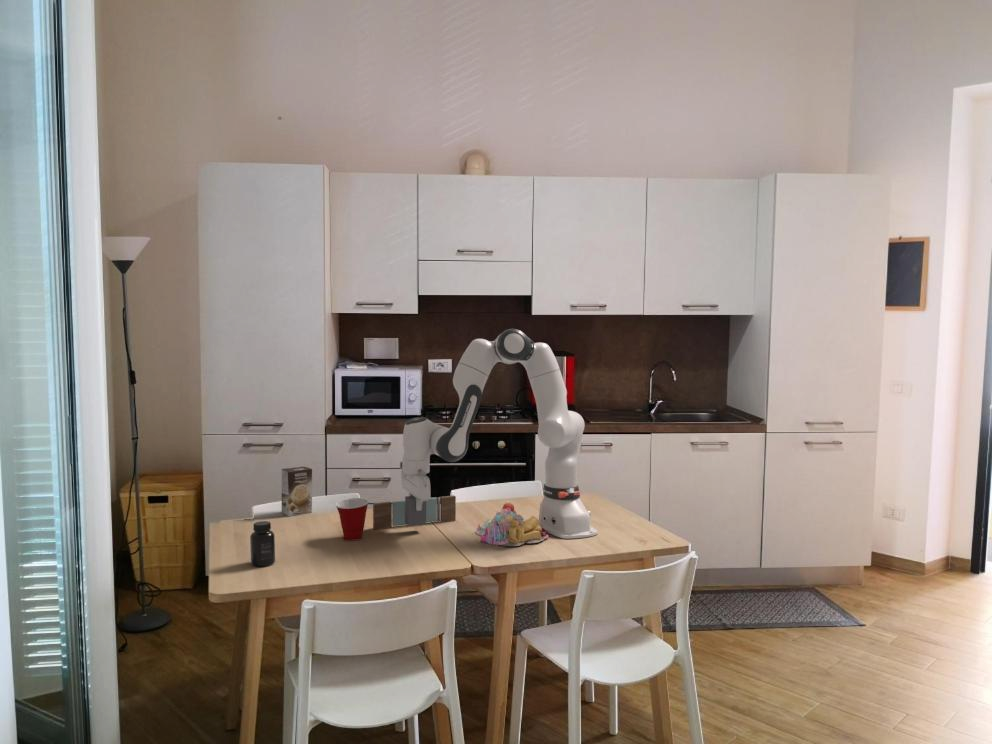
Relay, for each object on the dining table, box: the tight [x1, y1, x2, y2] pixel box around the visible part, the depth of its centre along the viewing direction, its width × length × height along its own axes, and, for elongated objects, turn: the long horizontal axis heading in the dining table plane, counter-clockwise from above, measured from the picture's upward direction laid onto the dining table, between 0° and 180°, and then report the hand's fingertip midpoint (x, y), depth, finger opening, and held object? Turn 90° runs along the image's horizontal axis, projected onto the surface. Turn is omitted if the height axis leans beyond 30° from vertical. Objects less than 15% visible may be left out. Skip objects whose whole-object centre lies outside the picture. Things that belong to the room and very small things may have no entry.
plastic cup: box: [334, 497, 370, 541], centre depth 259 cm, size 11×11×12 cm
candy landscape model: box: [475, 502, 550, 547], centre depth 263 cm, size 25×24×9 cm
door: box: [391, 496, 441, 527], centre depth 275 cm, size 1×17×8 cm, turn 114°
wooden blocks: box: [372, 495, 457, 530], centre depth 275 cm, size 2×29×9 cm, turn 114°
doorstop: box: [404, 495, 427, 527], centre depth 266 cm, size 4×6×9 cm, turn 113°
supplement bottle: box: [249, 520, 276, 568], centre depth 233 cm, size 7×7×12 cm
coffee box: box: [281, 466, 313, 517], centre depth 288 cm, size 9×6×16 cm
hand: (415, 508), depth 266 cm, fingers closed on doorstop, 4 cm apart
